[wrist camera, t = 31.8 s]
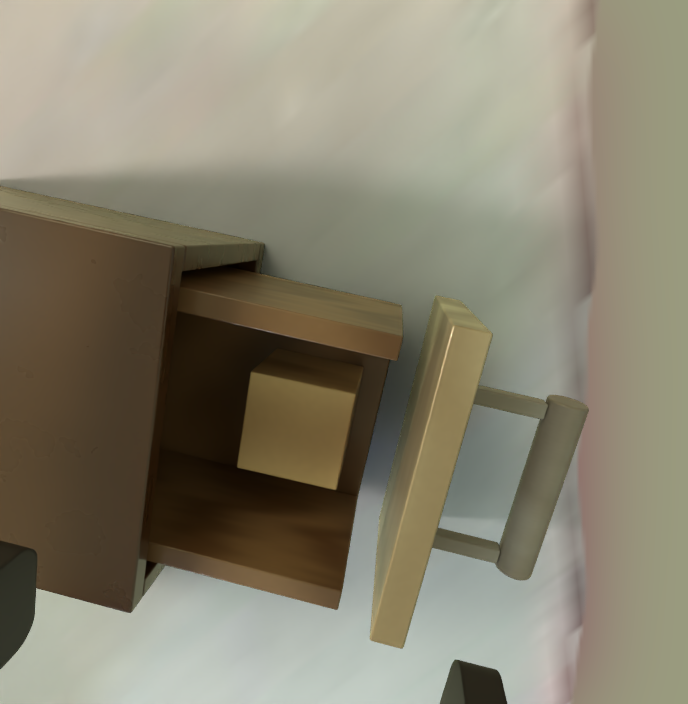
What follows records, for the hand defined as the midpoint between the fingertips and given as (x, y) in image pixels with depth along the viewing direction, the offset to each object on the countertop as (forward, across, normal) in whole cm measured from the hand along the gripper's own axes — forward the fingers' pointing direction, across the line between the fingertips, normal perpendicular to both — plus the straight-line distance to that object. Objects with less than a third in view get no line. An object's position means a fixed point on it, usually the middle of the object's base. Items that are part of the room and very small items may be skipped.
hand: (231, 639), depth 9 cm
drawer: (+15, 0, 0) cm, 15 cm away
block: (+14, +1, 0) cm, 14 cm away
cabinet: (+16, +12, 0) cm, 20 cm away
